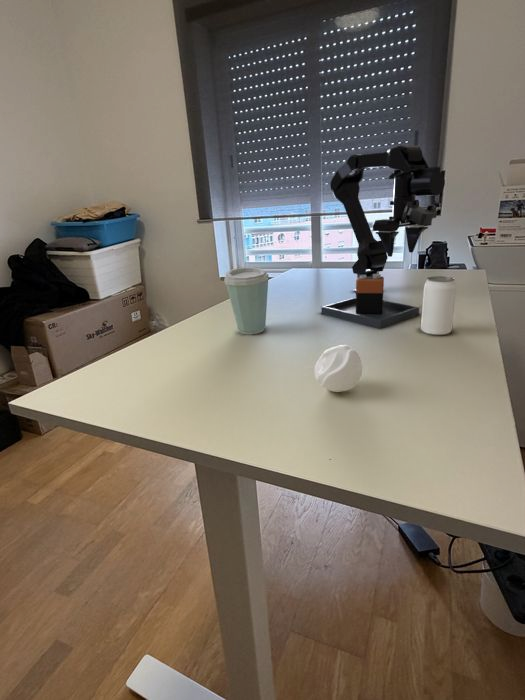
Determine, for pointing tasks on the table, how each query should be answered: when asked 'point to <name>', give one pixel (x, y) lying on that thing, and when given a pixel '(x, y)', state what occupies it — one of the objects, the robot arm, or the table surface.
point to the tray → (389, 314)
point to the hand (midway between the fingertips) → (400, 254)
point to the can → (438, 305)
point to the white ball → (338, 368)
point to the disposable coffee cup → (248, 298)
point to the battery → (369, 294)
